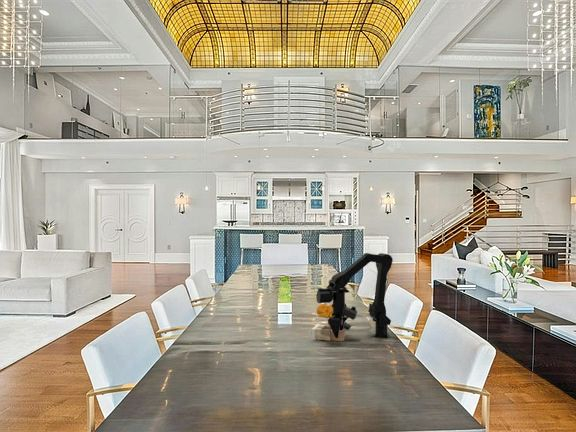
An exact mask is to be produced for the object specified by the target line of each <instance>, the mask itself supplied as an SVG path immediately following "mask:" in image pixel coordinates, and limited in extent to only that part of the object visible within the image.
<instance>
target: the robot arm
mask: <svg viewBox="0 0 576 432" xmlns="http://www.w3.org/2000/svg"><path fill="white" fill-rule="evenodd" d="M370 263H375V266H376V267H375V268H376V270H377V273H376V274H377V275H376V281H375V282H376V283H375V291H374V300H373V301H372V303H369V305H368V308H369V309H368V315H369V316H370V317H371V319H372V321H373V322H375V324H374V325H375V328H374V329H375V332H374V335H373V337H375V338H386V339H388V338H389V335H390V333H388V331H389V330H388V326H389V325H391V322H392V320H391V319H390V318H389V317H388V316H387V308H386V305H385V297H386V290H387V289H386V288H387V280H388V273H389V271H390V270H391V268H392V265H393V257H392V255H390V254H389V253H382V252H381V253H378V254H375V253H370V252H365V253H363V254H362V256H360V257H359V258H358V259H357V260H355V261H354V262H353V263H351V265H349V266H348V267H347V268H345V269H344V270H341V271H339V272H338V273H336V274H334V275H332V277H331V278H330V280H331V282H330V283H328V284H327V286H326V287H325V288H323V287H322V288H321V287H319V288H317V291H316V296H315V297H316V302H317V304H324V303H326V304H328V303H330V304H332V307H333V313H332V316H331V317H330V318H327V324H328V325H330V327H331V329H332V331H333V333H334V336H335V338H338V335H339V330H343V327H344V323H345V322H347V320H348V319H349V318H350V320H351V321H352V320H353V321H355V320H356V317H357V315H358V310H357V307H356V306H352V307H348V306H347V304H346V293H347V294H348V293H350V290H349V289H348V288H347V287H346V286H347V285H348V283H350V281H351V279H352V278H353V277H354V276H355V275H356V274H357V273H359V271H362V269H363V268H365V267H366V266H367V265H368V264H370ZM345 316H347V317H345Z"/></svg>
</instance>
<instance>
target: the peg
mask: <svg viewBox="0 0 576 432" xmlns="http://www.w3.org/2000/svg"><path fill="white" fill-rule="evenodd" d="M329 330H331V340H330V341H337V342H338V341H339V342H344V340H345V336H346V335H345V333H346V332H345V331H346V330H339V335H338V338H335V336H334V333H333V331H332V329H329Z"/></svg>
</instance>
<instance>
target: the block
mask: <svg viewBox="0 0 576 432" xmlns="http://www.w3.org/2000/svg"><path fill="white" fill-rule="evenodd" d="M329 329H331V327H330V325H329V324H328V325H327V324H321V325H319V326H318V327H317V328H316V329H315V339H316V340H319V341H320V340H322V341H329V342H330V341H332V340H331V330H329Z"/></svg>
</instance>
